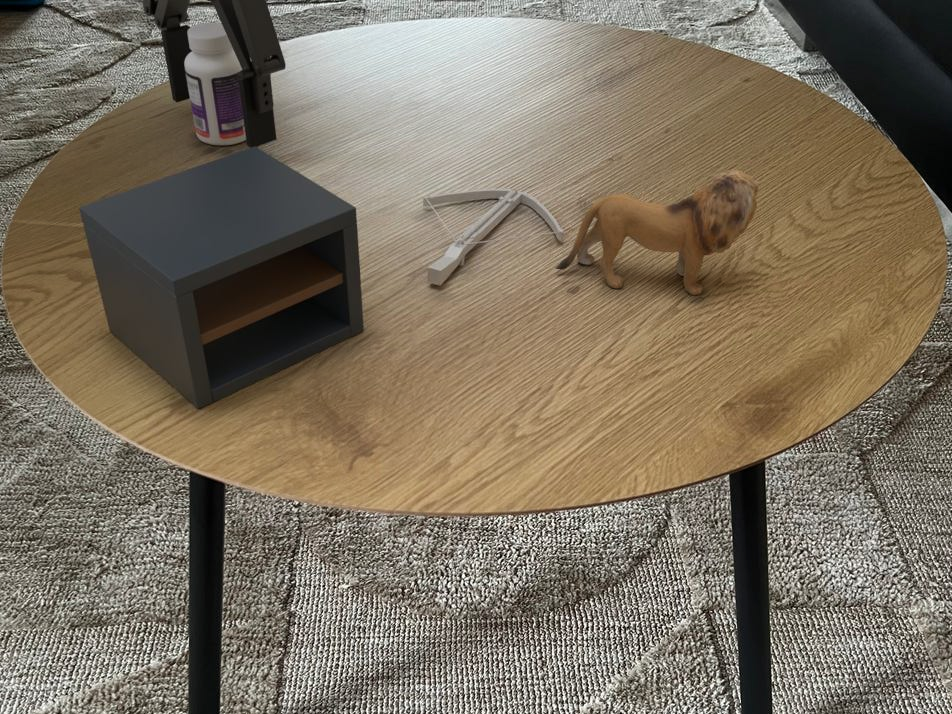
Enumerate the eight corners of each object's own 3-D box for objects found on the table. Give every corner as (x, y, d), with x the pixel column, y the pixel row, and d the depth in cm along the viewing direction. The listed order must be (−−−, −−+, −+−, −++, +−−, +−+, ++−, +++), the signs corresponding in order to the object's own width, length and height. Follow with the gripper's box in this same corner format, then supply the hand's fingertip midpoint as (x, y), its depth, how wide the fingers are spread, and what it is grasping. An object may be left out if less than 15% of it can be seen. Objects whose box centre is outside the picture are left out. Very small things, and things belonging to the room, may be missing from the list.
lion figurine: (735, 261, 88) (757, 157, 82) (747, 298, 84) (770, 191, 78) (553, 257, 88) (561, 153, 82) (556, 294, 84) (565, 186, 78)
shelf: (109, 331, 80) (78, 206, 73) (270, 264, 87) (255, 145, 80) (198, 409, 73) (173, 281, 66) (364, 330, 80) (356, 207, 73)
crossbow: (452, 191, 98) (452, 169, 96) (584, 223, 94) (586, 201, 93) (362, 265, 86) (361, 242, 85) (508, 306, 83) (510, 282, 81)
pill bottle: (260, 123, 105) (247, 20, 99) (246, 148, 101) (231, 43, 95) (205, 120, 106) (189, 17, 99) (188, 145, 102) (170, 39, 95)
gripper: (313, -114, 83) (333, 152, 98) (149, -174, 96) (189, 69, 111) (229, -96, 80) (263, 178, 94) (70, -161, 92) (122, 88, 107)
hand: (223, 119), depth 103 cm, fingers open, 12 cm apart
